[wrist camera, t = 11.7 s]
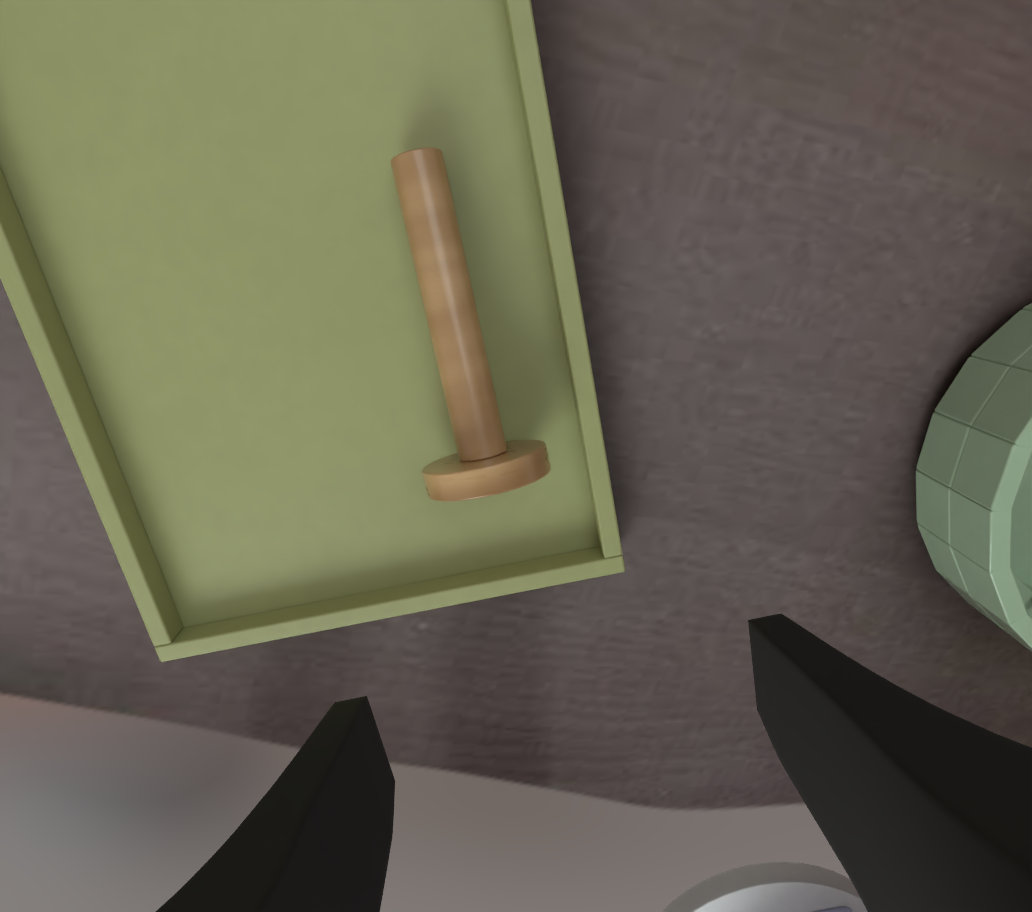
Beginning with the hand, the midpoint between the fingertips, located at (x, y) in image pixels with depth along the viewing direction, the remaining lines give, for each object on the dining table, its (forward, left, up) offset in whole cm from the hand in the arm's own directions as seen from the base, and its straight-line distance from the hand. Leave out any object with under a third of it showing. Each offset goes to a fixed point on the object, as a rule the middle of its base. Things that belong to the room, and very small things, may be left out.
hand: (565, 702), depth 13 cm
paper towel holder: (+2, +1, -8) cm, 8 cm away
